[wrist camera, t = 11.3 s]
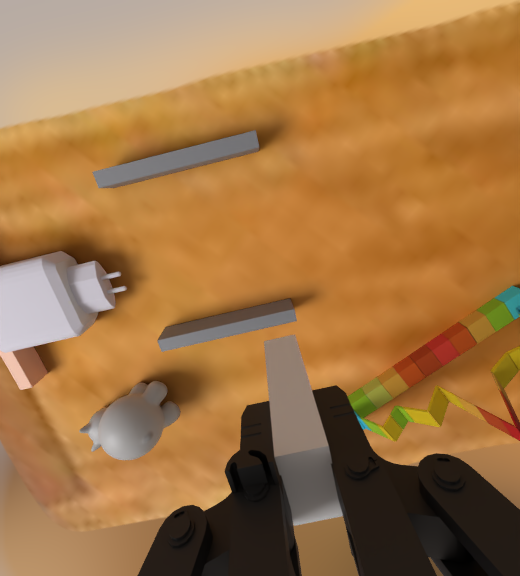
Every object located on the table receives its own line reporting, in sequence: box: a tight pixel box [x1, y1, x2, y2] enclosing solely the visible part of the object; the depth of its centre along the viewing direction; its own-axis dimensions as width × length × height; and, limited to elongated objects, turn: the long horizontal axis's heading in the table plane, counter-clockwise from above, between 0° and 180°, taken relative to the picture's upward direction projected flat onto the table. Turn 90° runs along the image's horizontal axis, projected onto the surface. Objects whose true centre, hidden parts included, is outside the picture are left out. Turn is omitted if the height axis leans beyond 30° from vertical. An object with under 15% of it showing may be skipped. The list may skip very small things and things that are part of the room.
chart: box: [348, 286, 520, 441], centre depth 34 cm, size 30×3×15 cm, turn 130°
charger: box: [0, 251, 127, 353], centre depth 34 cm, size 5×9×15 cm
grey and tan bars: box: [0, 130, 297, 390], centre depth 34 cm, size 34×22×4 cm, turn 103°
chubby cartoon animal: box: [79, 381, 180, 460], centre depth 38 cm, size 7×12×8 cm, turn 108°
